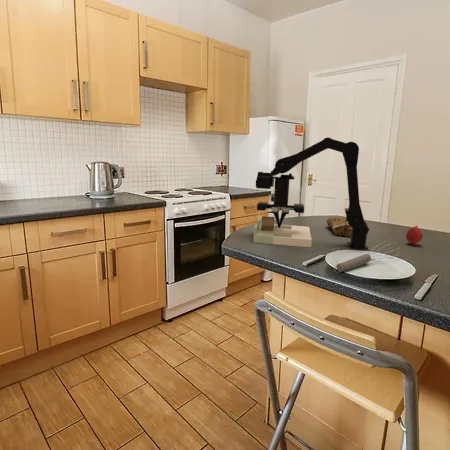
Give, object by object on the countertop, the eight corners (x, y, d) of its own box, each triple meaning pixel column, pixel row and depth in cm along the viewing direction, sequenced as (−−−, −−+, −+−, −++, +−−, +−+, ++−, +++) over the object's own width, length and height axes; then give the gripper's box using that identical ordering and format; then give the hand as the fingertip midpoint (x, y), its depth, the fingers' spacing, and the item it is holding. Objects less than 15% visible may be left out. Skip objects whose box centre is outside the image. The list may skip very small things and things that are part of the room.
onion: (412, 247, 132) (415, 227, 130) (401, 243, 137) (404, 224, 135) (424, 246, 133) (427, 227, 132) (412, 242, 139) (415, 223, 137)
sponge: (356, 241, 143) (356, 222, 160) (355, 224, 140) (355, 207, 157) (324, 242, 148) (328, 224, 165) (323, 226, 145) (326, 209, 162)
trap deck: (311, 247, 126) (312, 232, 125) (253, 242, 130) (254, 227, 129) (308, 233, 147) (309, 220, 146) (258, 229, 151) (259, 216, 150)
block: (273, 231, 136) (274, 219, 135) (260, 230, 137) (261, 218, 136) (273, 228, 141) (274, 217, 140) (262, 227, 142) (262, 216, 141)
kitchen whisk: (326, 270, 104) (328, 251, 102) (385, 254, 123) (388, 237, 121) (343, 277, 99) (345, 256, 97) (402, 259, 118) (404, 242, 116)
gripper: (304, 188, 141) (301, 224, 144) (260, 186, 144) (258, 222, 148) (305, 192, 130) (302, 231, 134) (257, 189, 133) (255, 227, 137)
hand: (279, 227), depth 138 cm, fingers closed
